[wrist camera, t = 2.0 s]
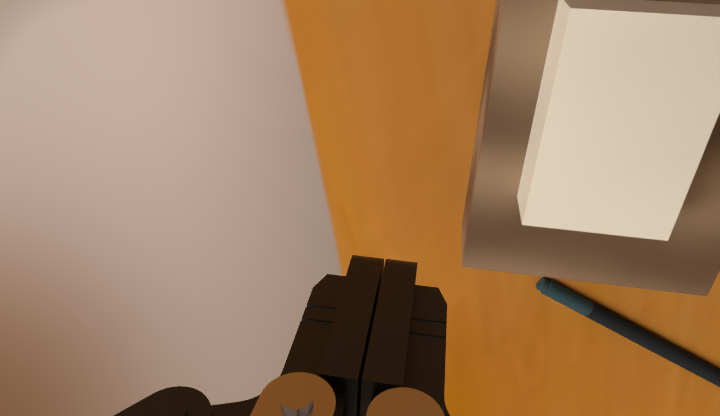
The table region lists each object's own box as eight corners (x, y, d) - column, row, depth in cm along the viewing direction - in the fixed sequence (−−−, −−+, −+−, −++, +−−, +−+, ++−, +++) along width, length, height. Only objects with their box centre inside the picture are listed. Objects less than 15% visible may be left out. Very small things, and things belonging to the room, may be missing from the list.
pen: (735, 388, 35) (743, 403, 34) (532, 282, 33) (535, 294, 32) (748, 379, 34) (757, 394, 33) (543, 271, 32) (546, 283, 32)
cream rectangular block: (559, -5, 21) (570, 8, 18) (725, 4, 20) (757, 19, 18) (516, 196, 25) (522, 225, 23) (650, 210, 25) (667, 241, 22)
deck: (518, -142, 22) (528, -146, 18) (840, -133, 20) (915, -137, 17) (462, 225, 31) (462, 266, 28) (679, 249, 30) (706, 296, 26)
